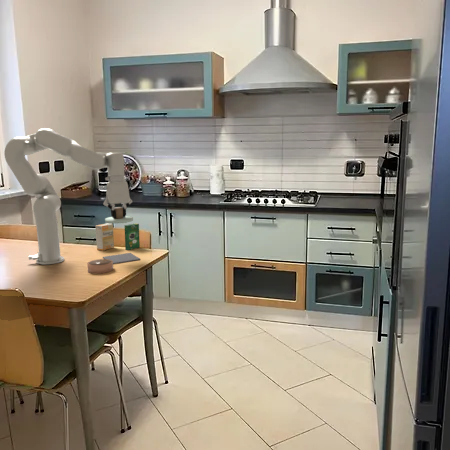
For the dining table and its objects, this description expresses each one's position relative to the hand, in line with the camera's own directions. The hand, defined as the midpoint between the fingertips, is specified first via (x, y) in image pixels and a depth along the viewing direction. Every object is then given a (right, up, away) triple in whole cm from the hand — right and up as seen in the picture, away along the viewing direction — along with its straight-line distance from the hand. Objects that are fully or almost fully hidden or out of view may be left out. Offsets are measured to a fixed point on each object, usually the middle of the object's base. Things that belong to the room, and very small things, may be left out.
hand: (119, 217), depth 225 cm
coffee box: (+2, -16, +24) cm, 29 cm away
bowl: (-5, -24, -14) cm, 28 cm away
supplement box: (-13, -16, +25) cm, 32 cm away
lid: (0, -2, 0) cm, 2 cm away
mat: (0, -20, +4) cm, 20 cm away
